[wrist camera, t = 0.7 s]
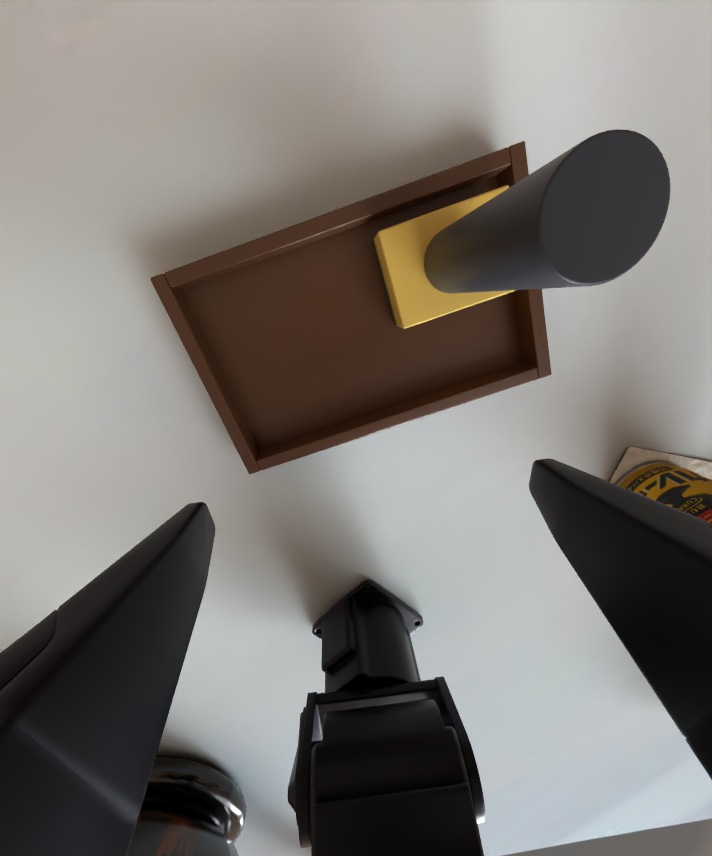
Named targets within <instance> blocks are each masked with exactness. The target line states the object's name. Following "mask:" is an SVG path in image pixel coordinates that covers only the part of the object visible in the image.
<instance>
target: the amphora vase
mask: <svg viewBox="0 0 712 856" xmlns="http://www.w3.org/2000/svg"><path fill="white" fill-rule="evenodd" d="M245 817H246V805H245V801H244V798H243V795H242V793H241V791H240V789H239V788H238V787H237V786H236V784H235V783H234V782H233V781H232V780H231V779H230V778H229V777H227V776H225V775H224V774H222V773H221V772H219V771H217V770H216V769H214V768H212V767H210V766H207V765H204V764H202V763H199V762H196V761H191V760H186V759H181V758H173V757H156V758H155V761H154V765H153V768H152V771H151V775H150V778H149V782H148V785H147V788H146V792H145V795H144V799H143V802H142V805H141V809H140V812H139V816H138V818H137V819H136V820H137V824H136V827H135V830H134V834H133V837H132V841H131V844H130V847H129V851H128V854H127V856H239V855H238V853H237V851H236V849H235V846H234V842H235V841H236V840H237V838H238V837H239V835H240V834H241V832H242V830H243V828H244V823H245Z"/></svg>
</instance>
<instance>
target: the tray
mask: <svg viewBox="0 0 712 856" xmlns="http://www.w3.org/2000/svg"><path fill="white" fill-rule="evenodd" d="M527 176H529V175H528V166H527V157H526V148H525V141H523V142H520V143H517V144H515V145H512V146H510V147H509V148H504V149H502V150H499V151H496V152H493V153H491V154H488V155H485V156H482V157H480V158H477V159H474V160H472V161H469V162H466V163H463V164H461V165H458V166H455V167H452V168H450V169H447V170H444V171H441V172H439V173H436V174H433V175H431V176H428V177H425V178H422V179H420V180H417V181H414V182H411V183H409V184H406V185H403V186H400V187H398V188H395V189H392V190H390V191H387V192H384V193H381V194H379V195H376V196H373V197H370V198H368V199H365V200H362V201H359V202H357V203H354V204H351V205H349V206H346V207H343V208H340V209H338V210H335V211H332V212H329V213H327V214H324V215H321V216H318V217H316V218H313V219H310V220H308V221H305V222H302V223H299V224H297V225H294V226H291V227H288V228H286V229H283V230H280V231H277V232H275V233H272V234H269V235H267V236H264V237H261V238H258V239H256V240H253V241H250V242H247V243H245V244H242V245H239V246H236V247H234V248H231V249H228V250H226V251H223V252H220V253H217V254H215V255H212V256H209V257H206V258H204V259H201V260H198V261H195V262H193V263H190V264H187V265H185V266H182V267H179V268H176V269H174V270H171V271H168V272H165V273H164V274H160V275H157V276H154V277H152V278H151V282H152V283H153V285H154V287H155V289H156V291H157V293H158V295H159V297H160V299H161V301H162V303H163V305H164V307H165V309H166V311H167V313H168V315H169V317H170V319H171V321H172V323H173V325H174V327H175V329H176V331H177V333H178V335H179V337H180V339H181V341H182V343H183V345H184V346H185V348H186V350H187V352H188V354H189V356H190V358H191V360H192V362H193V364H194V366H195V368H196V370H197V372H198V374H199V376H200V378H201V380H202V382H203V384H204V386H205V388H206V390H207V392H208V394H209V396H210V398H211V400H212V402H213V404H214V406H215V408H216V410H217V411H218V413H219V415H220V417H221V419H222V421H223V423H224V425H225V427H226V429H227V431H228V433H229V435H230V437H231V439H232V441H233V443H234V445H235V447H236V449H237V451H238V453H239V455H240V457H241V459H242V461H243V463H244V465H245V467H246V469H247V471H248V473H249V474H252V473H255V472H258V471H260V470H264V469H267V468H270V467H273V466H276V465H279V464H282V463H285V462H288V461H291V460H294V459H297V458H300V457H303V456H306V455H309V454H312V453H315V452H318V451H322V450H325V449H328V448H331V447H334V446H337V445H340V444H343V443H346V442H349V441H352V440H355V439H358V438H361V437H364V436H367V435H370V434H373V433H376V432H379V431H382V430H385V429H388V428H391V427H394V426H397V425H400V424H403V423H406V422H409V421H412V420H415V419H418V418H421V417H424V416H427V415H430V414H433V413H436V412H439V411H442V410H445V409H448V408H451V407H454V406H457V405H460V404H463V403H466V402H469V401H472V400H475V399H478V398H481V397H484V396H487V395H490V394H493V393H496V392H499V391H502V390H505V389H508V388H511V387H514V386H517V385H520V384H524V383H527V382H530V381H533V380H536V379H538V378H542V377H545V376H548V375H551V368H550V359H549V351H548V342H547V333H546V324H545V315H544V307H543V298H542V289H525V290H516V291H513V292H510V293H507V294H504V295H501V296H498V297H496V298H493V299H490V300H487V301H484V302H481V303H478V304H475V305H472V306H469V307H467V308H464V309H461V310H458V311H455V312H452V313H449V314H446V315H443V316H441V317H438V318H435V319H432V320H429V321H426V322H423V323H420V324H417V325H414V326H412V327H409V328H406V329H404V328H401V327H398V326H395V323H394V320H393V316H392V312H391V309H390V305H389V301H388V298H387V294H386V290H385V287H384V283H383V279H382V276H381V272H380V268H379V265H378V261H377V258H376V254H375V250H374V247H373V243H372V240H373V239H374V237H375V236H376V235H377V233H378V232H379V231H381V230H383V229H386V228H389V227H392V226H394V225H397V224H400V223H403V222H406V221H408V220H411V219H414V218H417V217H419V216H422V215H425V214H428V213H431V212H433V211H436V210H439V209H442V208H444V207H447V206H450V205H453V204H455V203H458V202H461V201H464V200H467V199H469V198H472V197H475V196H478V195H480V194H483V193H486V192H489V191H492V190H494V189H497V188H500V187H503V186H505V185H508V186H509V188H510V187H511V186H513V185H514V184H516V183H517V182H519V181H521V180H522V179H524V178H525V177H527Z"/></svg>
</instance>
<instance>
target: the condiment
mask: <svg viewBox="0 0 712 856" xmlns="http://www.w3.org/2000/svg"><path fill="white" fill-rule="evenodd" d="M610 483H613V484H615V485H618V486H620V487H623V488H625V489H628V490H630V491H633V492H635V493H638V494H640V495H643V496H645V497H648V498H650V499H653V500H655V501H658V502H660V503H663V504H665V505H668V506H670V507H673V508H675V509H678V510H680V511H683V512H685V513H688V514H690V515H693V516H695V517H698V518H700V519H702V520H705V521H707V522H708V523H709V524H710V523H712V462H707V461H702V460H697V459H693V458H687V457H683V456H678V455H673V454H667V453H662V452H657V451H652V450H646V449H641V448H635V447H629V448H628V449H627V451H626V453H625V455H624V457H623V459H622V461H621V462H620V463H619V466H618V468H617V470H616V471H615V472H614V474H613V476H612V478H611V480H610Z"/></svg>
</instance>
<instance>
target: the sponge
mask: <svg viewBox="0 0 712 856" xmlns="http://www.w3.org/2000/svg"><path fill="white" fill-rule="evenodd" d="M669 199H670V178H669V172H668V168H667V165H666V161H665V159H664V157H663V155H662V153H661V152H660V150H659V149H658V147H657V146H656V145H655V144H654V143H653V142H652V141H651V140H650V139H648V138H647V137H645V136H644V135H642V134H639V133H637V132H634V131H629V130H609V131H605V132H601V133H598V134H596V135H594V136H591V137H589V138H588V139H586V140H584V141H583V142H581V143H579V144H578V145H576V146H575V147H573V148H572V149H570V150H568V151H567V152H565V153H564V154H562V155H560V156H559V157H557V158H556V159H554V160H552V161H551V162H549V163H548V164H546V165H545V166H543V167H541V168H540V169H538V170H537V171H535V172H533V173H532V174H530V175H529V176H527V177H525V178H524V179H522V180H521V181H519V182H517V183H516V184H514V185H513V186H511V187H510V188H509V186H508V185H505V186H503V187H500V188H497V189H494V190H492V191H489V192H486V193H483V194H480V195H478V196H475V197H472V198H469V199H467V200H464V201H461V202H458V203H455V204H453V205H450V206H447V207H444V208H442V209H439V210H436V211H433V212H431V213H428V214H425V215H422V216H419V217H417V218H414V219H411V220H408V221H406V222H403V223H400V224H397V225H394V226H392V227H389V228H386V229H383V230H381V231H379V232H378V233H377V235H376V236H375V237H374V239H373V240H372V243H373V247H374V250H375V254H376V258H377V261H378V265H379V268H380V272H381V276H382V279H383V283H384V287H385V290H386V294H387V298H388V301H389V305H390V309H391V312H392V316H393V320H394V323H395V326H398V327H401V328H404V329H406V328H409V327H412V326H414V325H417V324H420V323H423V322H426V321H429V320H432V319H435V318H438V317H441V316H443V315H446V314H449V313H452V312H455V311H458V310H461V309H464V308H467V307H469V306H472V305H475V304H478V303H481V302H484V301H487V300H490V299H493V298H496V297H498V296H501V295H504V294H507V293H510V292H513V291H516V290H525V289H543V288H561V287H579V286H593V285H599V284H603V283H606V282H609V281H611V280H613V279H615V278H617V277H619V276H621V275H622V274H624V273H625V272H627V271H628V270H629V269H631V268H632V267H633V266H634V265H635V264H637V263H638V262H639V261H640V260H641V258H642V257H643V256H644V255H645V254H646V253H647V251H648V250H649V249H650V248H651V246H652V244H653V243H654V241H655V240H656V238H657V236H658V234H659V232H660V230H661V228H662V225H663V223H664V220H665V217H666V214H667V210H668V205H669Z"/></svg>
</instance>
